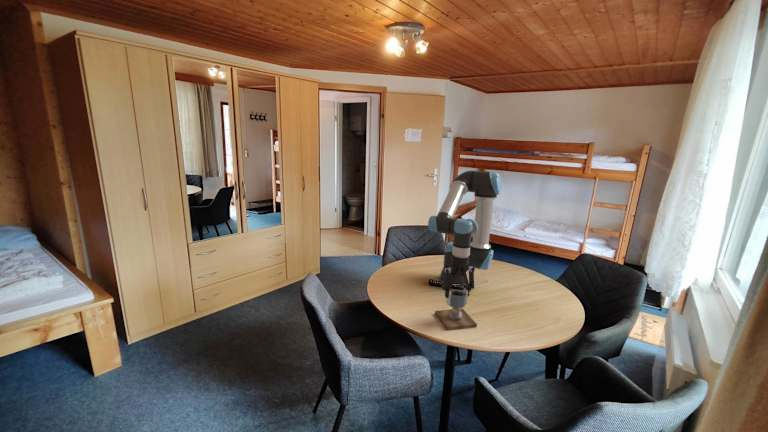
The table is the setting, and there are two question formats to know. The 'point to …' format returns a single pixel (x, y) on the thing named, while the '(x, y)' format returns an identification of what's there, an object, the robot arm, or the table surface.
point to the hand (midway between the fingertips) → (456, 303)
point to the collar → (457, 299)
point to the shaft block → (455, 319)
